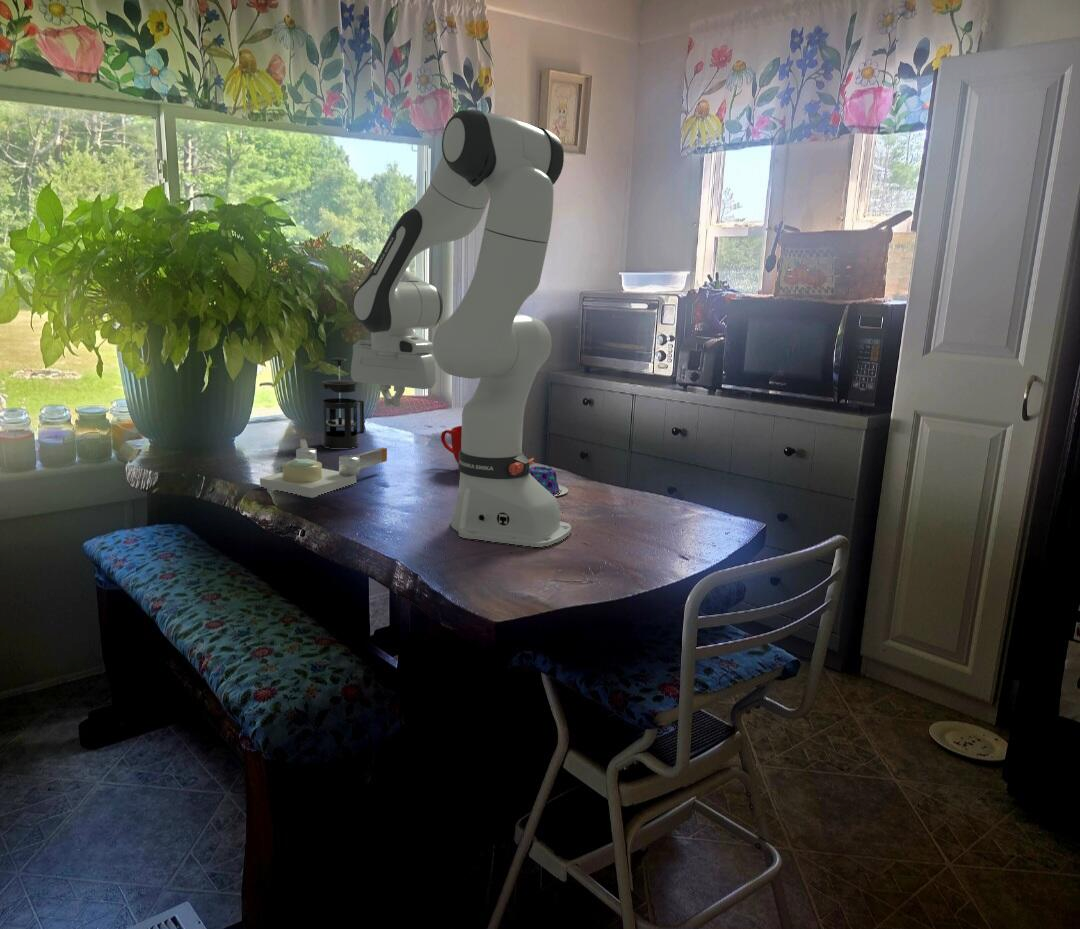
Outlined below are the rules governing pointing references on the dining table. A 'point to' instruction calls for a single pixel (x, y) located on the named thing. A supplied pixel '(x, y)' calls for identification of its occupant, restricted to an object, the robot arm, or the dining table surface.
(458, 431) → the ceramic cup
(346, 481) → the base
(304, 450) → the far knob
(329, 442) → the french press
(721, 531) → the dining table surface
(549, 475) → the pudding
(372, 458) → the near knob
